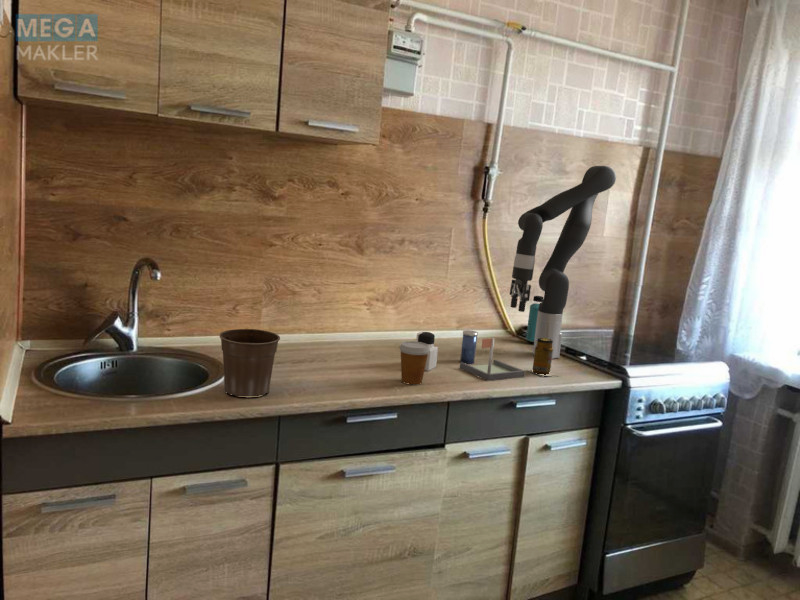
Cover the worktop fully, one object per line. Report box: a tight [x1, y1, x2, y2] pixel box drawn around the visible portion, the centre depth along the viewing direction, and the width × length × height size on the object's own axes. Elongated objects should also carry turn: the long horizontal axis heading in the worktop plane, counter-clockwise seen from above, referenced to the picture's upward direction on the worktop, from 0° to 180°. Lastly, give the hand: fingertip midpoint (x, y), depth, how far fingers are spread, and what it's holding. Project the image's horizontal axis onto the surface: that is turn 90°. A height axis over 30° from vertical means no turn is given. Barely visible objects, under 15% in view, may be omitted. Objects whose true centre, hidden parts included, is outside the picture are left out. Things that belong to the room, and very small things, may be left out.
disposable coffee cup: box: [398, 340, 430, 385], centre depth 209 cm, size 10×10×12 cm
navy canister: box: [459, 329, 479, 365], centre depth 239 cm, size 5×5×11 cm
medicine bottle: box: [415, 331, 439, 372], centre depth 227 cm, size 7×7×12 cm
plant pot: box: [219, 328, 281, 397], centre depth 186 cm, size 16×16×16 cm
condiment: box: [527, 338, 556, 378], centre depth 233 cm, size 7×8×12 cm
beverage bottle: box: [525, 295, 544, 342], centre depth 278 cm, size 6×7×20 cm
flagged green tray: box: [459, 337, 526, 382], centre depth 227 cm, size 15×20×14 cm
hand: (517, 309), depth 253 cm, fingers open, 8 cm apart
